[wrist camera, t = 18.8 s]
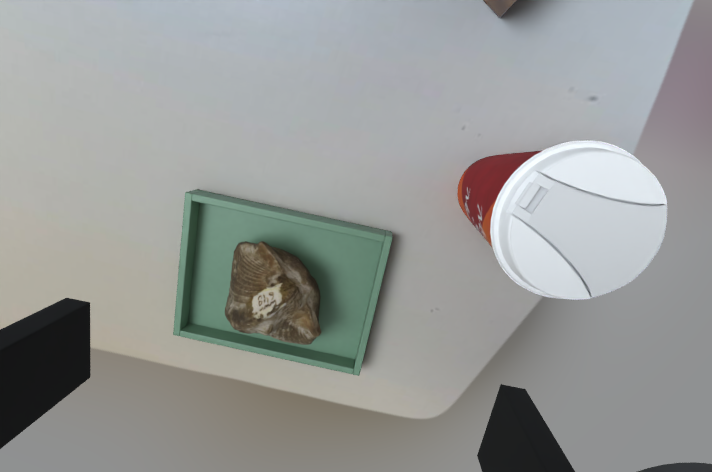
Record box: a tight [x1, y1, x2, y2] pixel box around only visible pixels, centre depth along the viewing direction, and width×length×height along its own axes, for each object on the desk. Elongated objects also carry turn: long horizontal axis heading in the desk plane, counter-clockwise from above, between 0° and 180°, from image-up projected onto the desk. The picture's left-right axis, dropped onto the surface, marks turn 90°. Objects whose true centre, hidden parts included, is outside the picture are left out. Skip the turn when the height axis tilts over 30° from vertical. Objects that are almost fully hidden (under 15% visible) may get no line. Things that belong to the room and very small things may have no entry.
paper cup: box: [458, 140, 667, 300], centre depth 23 cm, size 8×8×14 cm
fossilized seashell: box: [225, 241, 321, 345], centre depth 30 cm, size 8×7×10 cm
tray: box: [173, 190, 393, 376], centre depth 32 cm, size 17×13×2 cm
